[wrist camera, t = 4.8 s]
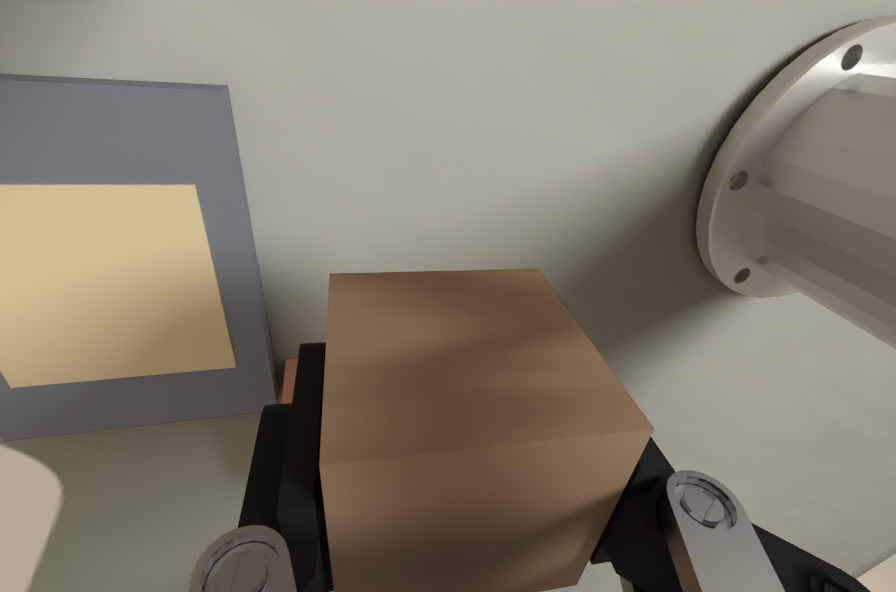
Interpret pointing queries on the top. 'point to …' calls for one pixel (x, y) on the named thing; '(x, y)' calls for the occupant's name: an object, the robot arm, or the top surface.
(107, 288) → the board
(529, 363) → the walnut block
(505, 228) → the top surface
